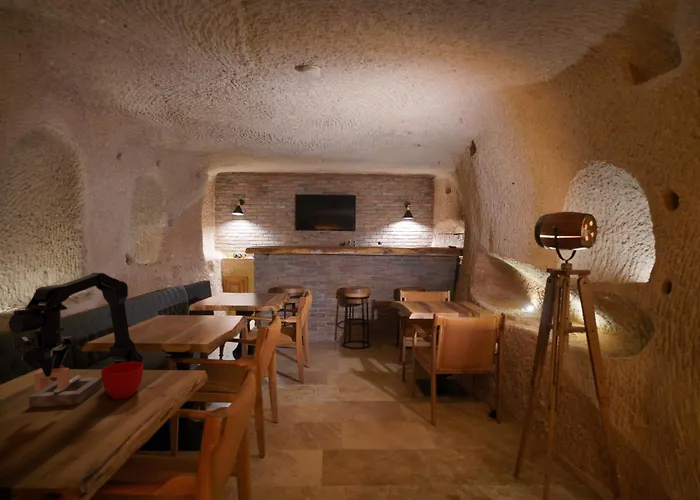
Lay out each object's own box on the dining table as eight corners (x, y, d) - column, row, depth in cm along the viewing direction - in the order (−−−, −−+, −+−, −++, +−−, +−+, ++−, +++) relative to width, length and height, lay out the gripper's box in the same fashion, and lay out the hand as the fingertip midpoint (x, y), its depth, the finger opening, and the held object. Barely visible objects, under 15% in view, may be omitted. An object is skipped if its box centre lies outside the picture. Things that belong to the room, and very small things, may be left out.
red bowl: (157, 384, 152) (156, 358, 152) (128, 403, 135) (127, 374, 135) (125, 383, 153) (124, 358, 153) (93, 402, 136) (92, 373, 136)
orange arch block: (69, 384, 131) (68, 367, 131) (62, 389, 127) (61, 372, 127) (42, 386, 130) (42, 369, 130) (34, 390, 126) (34, 373, 126)
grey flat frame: (102, 386, 150) (102, 377, 150) (79, 404, 135) (79, 393, 134) (57, 389, 148) (57, 379, 148) (29, 407, 133) (28, 396, 132)
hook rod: (80, 379, 148) (80, 374, 148) (58, 393, 135) (58, 389, 134) (76, 379, 148) (75, 375, 148) (53, 394, 134) (53, 389, 134)
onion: (52, 381, 157) (51, 361, 156) (69, 379, 158) (68, 359, 158) (46, 386, 151) (45, 365, 151) (63, 384, 153) (63, 364, 153)
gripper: (41, 320, 136) (42, 366, 136) (0, 334, 117) (3, 386, 118) (76, 319, 137) (78, 364, 138) (42, 332, 119) (44, 384, 119)
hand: (52, 374), depth 128 cm, fingers closed on orange arch block, 4 cm apart
